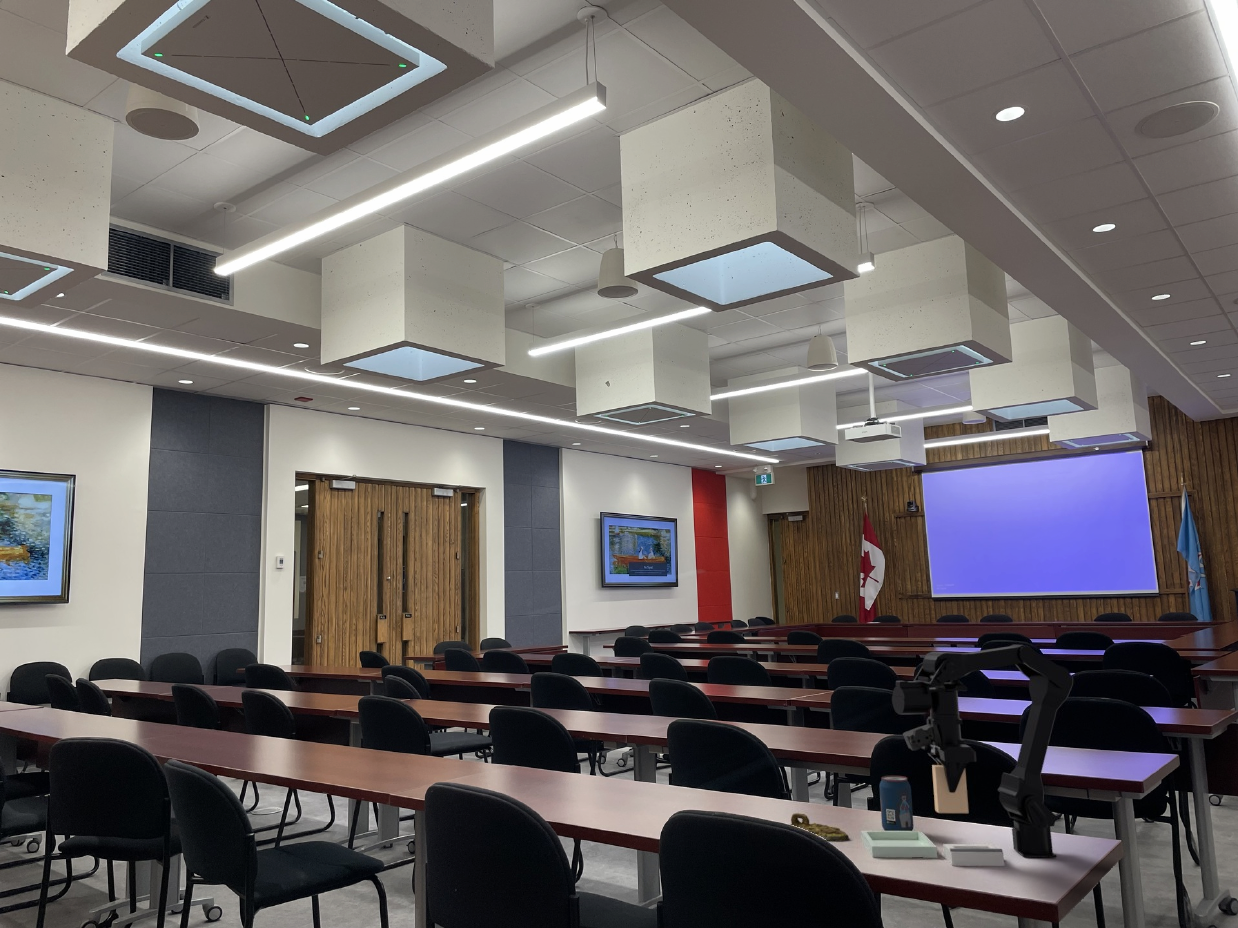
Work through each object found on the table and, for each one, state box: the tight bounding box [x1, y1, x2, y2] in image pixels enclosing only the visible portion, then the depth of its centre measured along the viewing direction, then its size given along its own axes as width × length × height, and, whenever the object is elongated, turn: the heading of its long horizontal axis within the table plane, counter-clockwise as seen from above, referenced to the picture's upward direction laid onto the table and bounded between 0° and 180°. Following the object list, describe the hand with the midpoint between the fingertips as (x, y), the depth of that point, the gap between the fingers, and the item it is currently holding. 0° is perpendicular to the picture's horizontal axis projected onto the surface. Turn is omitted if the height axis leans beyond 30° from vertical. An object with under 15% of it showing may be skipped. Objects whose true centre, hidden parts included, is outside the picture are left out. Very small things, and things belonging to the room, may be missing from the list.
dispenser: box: [942, 843, 1005, 867], centre depth 174 cm, size 10×6×3 cm, turn 84°
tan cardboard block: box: [931, 764, 969, 814], centre depth 178 cm, size 6×2×9 cm, turn 85°
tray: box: [860, 830, 938, 859], centre depth 184 cm, size 13×13×2 cm
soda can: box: [879, 775, 915, 831], centre depth 199 cm, size 7×7×12 cm
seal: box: [790, 812, 849, 842], centre depth 197 cm, size 9×5×15 cm
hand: (950, 790), depth 178 cm, fingers closed on tan cardboard block, 2 cm apart
